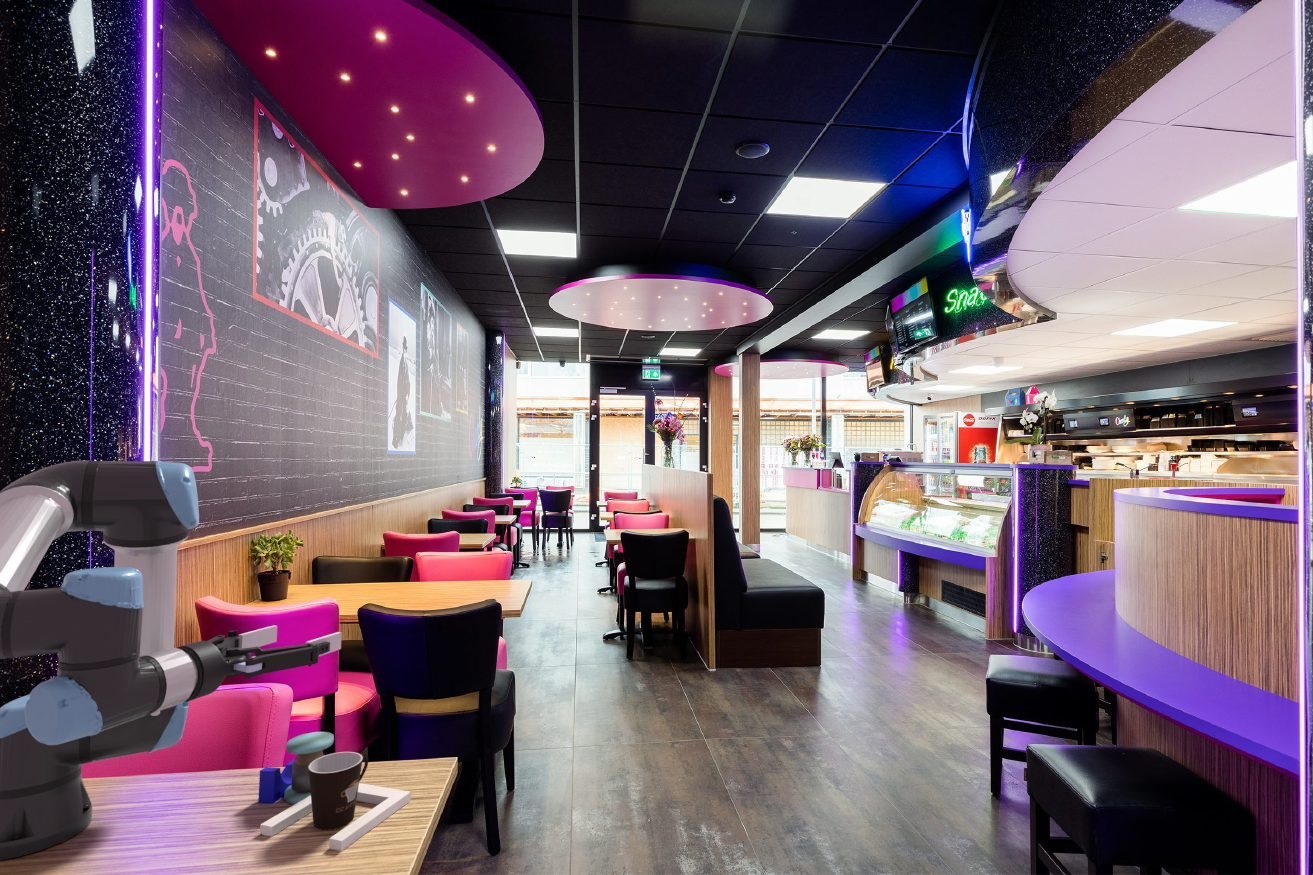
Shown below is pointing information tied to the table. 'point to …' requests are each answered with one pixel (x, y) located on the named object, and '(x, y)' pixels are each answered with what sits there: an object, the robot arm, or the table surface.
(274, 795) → the cable clip
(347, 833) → the u-shaped bracket
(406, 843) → the table surface
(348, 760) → the coffee mug
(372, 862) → the table surface
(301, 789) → the bobbin
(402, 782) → the table surface
